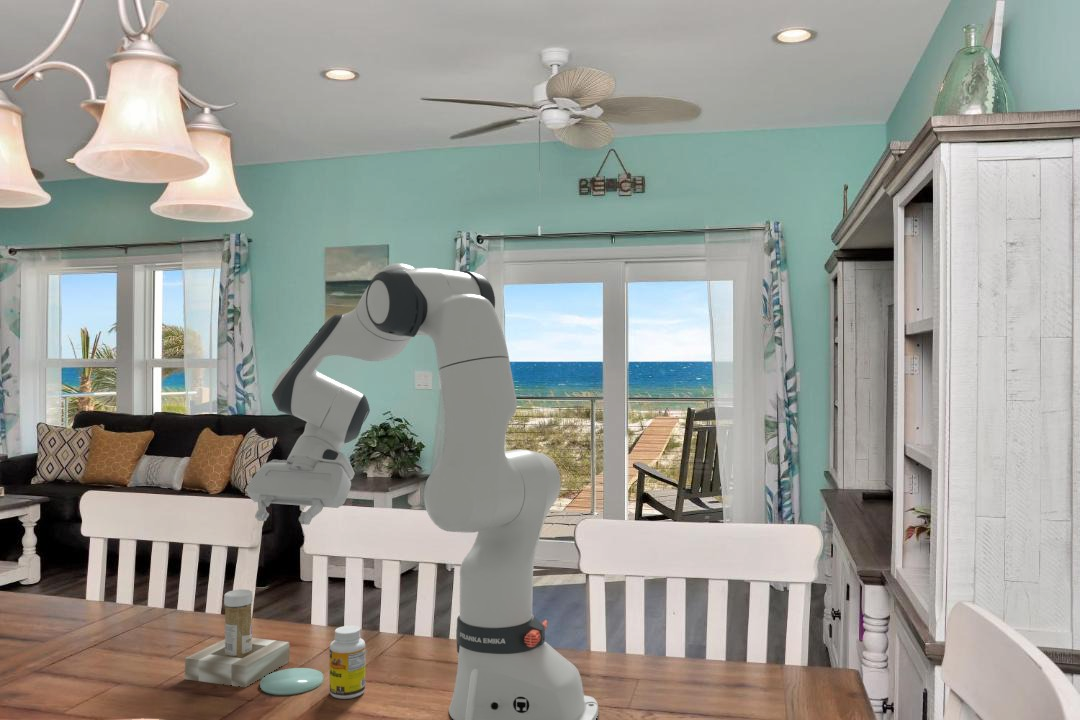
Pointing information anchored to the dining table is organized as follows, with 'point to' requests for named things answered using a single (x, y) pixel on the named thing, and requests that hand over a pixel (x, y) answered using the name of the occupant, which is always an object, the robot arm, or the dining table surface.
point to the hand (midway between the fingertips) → (281, 521)
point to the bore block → (236, 663)
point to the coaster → (291, 681)
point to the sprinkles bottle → (238, 623)
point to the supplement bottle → (347, 663)
